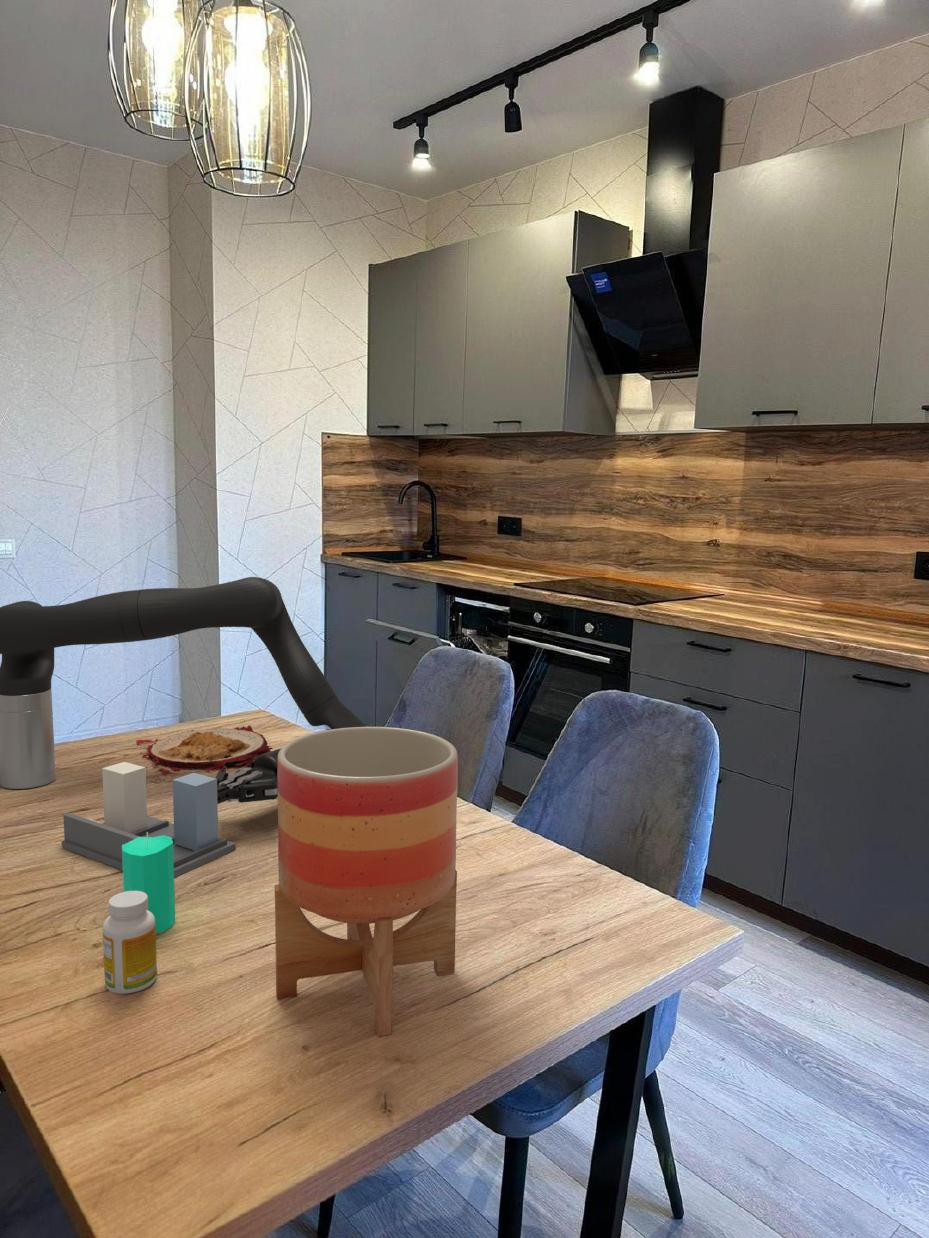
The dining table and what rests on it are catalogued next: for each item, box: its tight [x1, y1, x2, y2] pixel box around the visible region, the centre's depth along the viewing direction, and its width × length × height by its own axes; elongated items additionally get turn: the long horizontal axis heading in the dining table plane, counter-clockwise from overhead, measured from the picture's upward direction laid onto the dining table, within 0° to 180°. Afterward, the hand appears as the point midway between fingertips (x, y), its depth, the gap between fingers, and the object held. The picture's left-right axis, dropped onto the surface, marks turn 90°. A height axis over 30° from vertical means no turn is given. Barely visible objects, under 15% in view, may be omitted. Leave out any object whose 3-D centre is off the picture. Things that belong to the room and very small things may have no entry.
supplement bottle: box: [102, 891, 158, 995], centre depth 94 cm, size 5×5×10 cm
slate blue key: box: [172, 772, 219, 851], centre depth 128 cm, size 5×4×10 cm
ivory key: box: [101, 761, 148, 833], centre depth 132 cm, size 5×4×10 cm
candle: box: [122, 832, 176, 935], centre depth 106 cm, size 6×6×12 cm
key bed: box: [61, 812, 236, 878], centre depth 129 cm, size 22×14×5 cm, turn 59°
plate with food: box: [135, 725, 273, 776], centre depth 177 cm, size 25×26×4 cm
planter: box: [274, 726, 459, 1038], centre depth 93 cm, size 20×20×27 cm
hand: (205, 799), depth 130 cm, fingers closed
